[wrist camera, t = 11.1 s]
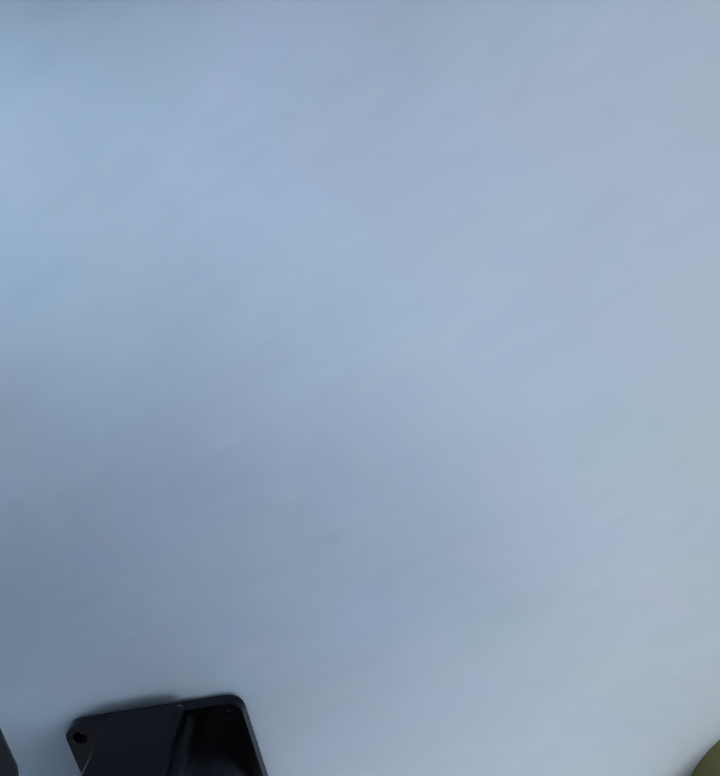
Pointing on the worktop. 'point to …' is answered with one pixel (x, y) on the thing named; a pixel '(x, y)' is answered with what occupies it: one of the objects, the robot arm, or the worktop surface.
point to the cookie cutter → (709, 763)
